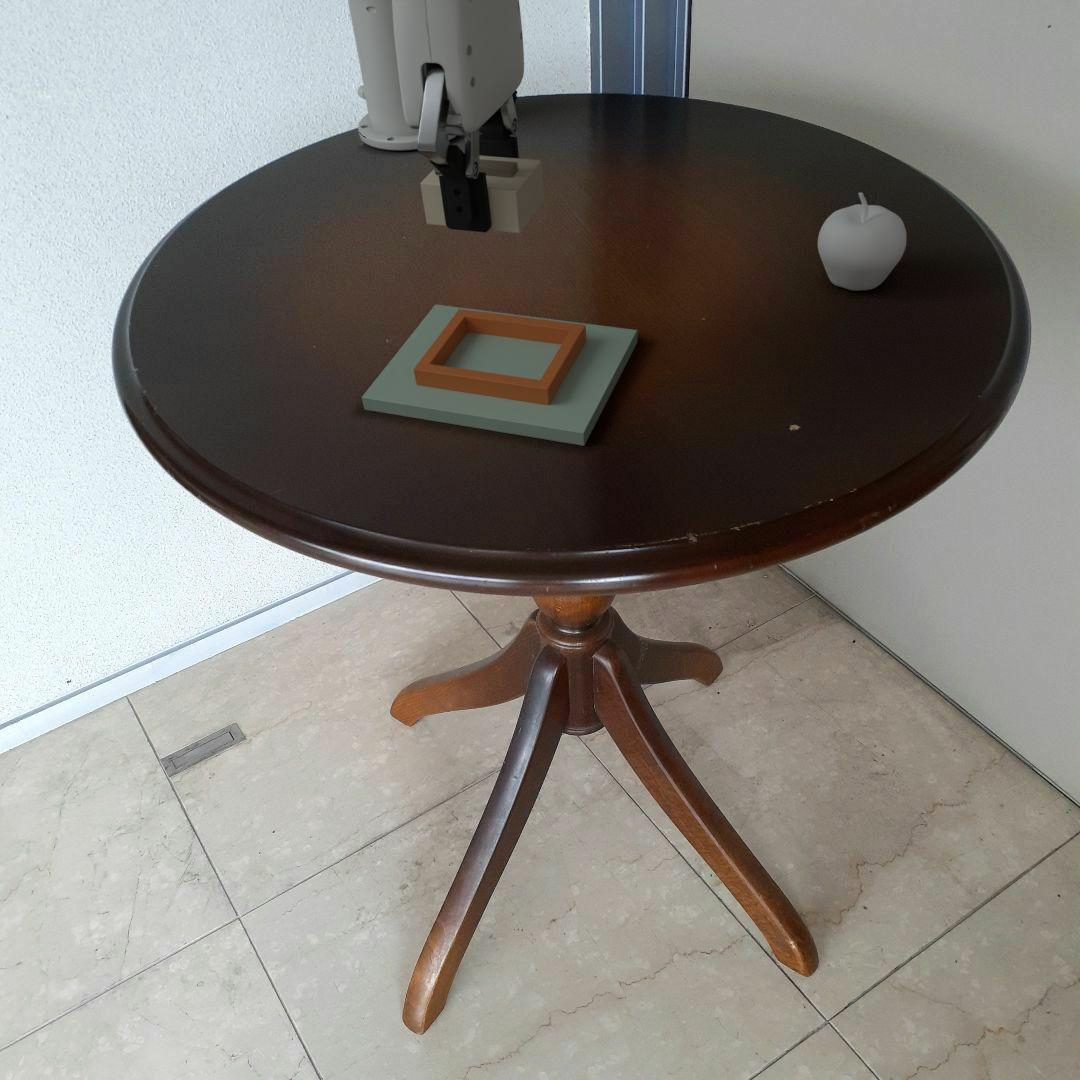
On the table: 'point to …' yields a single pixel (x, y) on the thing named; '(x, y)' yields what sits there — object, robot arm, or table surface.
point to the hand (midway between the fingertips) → (484, 207)
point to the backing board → (504, 373)
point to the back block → (496, 193)
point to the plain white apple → (861, 245)
